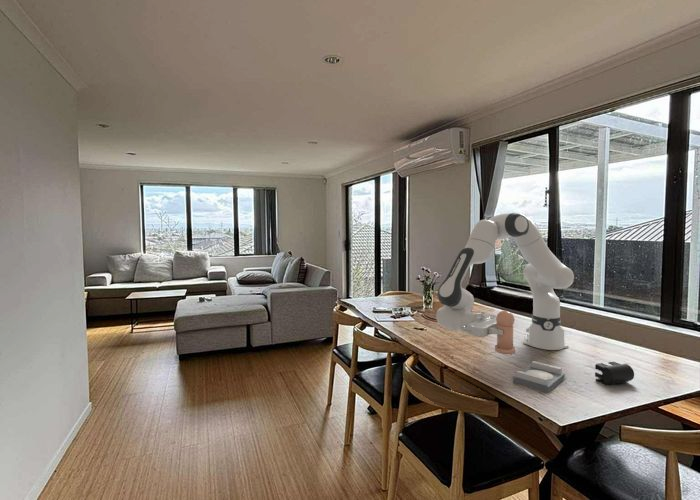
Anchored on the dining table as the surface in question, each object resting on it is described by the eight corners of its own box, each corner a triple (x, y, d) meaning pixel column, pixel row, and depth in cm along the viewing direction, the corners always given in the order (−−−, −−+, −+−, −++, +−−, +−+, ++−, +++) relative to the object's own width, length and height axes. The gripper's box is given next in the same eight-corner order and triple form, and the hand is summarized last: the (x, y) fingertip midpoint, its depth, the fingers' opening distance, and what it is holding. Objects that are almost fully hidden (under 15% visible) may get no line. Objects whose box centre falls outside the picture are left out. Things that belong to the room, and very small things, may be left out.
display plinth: (530, 369, 145) (530, 359, 145) (564, 378, 136) (564, 368, 136) (513, 382, 134) (513, 371, 134) (548, 392, 125) (549, 381, 125)
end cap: (611, 388, 128) (612, 369, 128) (593, 380, 135) (594, 362, 135) (634, 385, 131) (635, 366, 130) (615, 377, 137) (616, 359, 137)
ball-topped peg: (494, 347, 144) (495, 308, 143) (514, 348, 142) (514, 309, 140) (495, 353, 137) (495, 312, 136) (515, 355, 135) (516, 313, 134)
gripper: (459, 320, 141) (494, 327, 131) (485, 311, 155) (519, 317, 145) (459, 336, 142) (494, 345, 131) (485, 326, 155) (518, 332, 145)
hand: (507, 330), depth 138 cm, fingers closed on ball-topped peg, 6 cm apart
